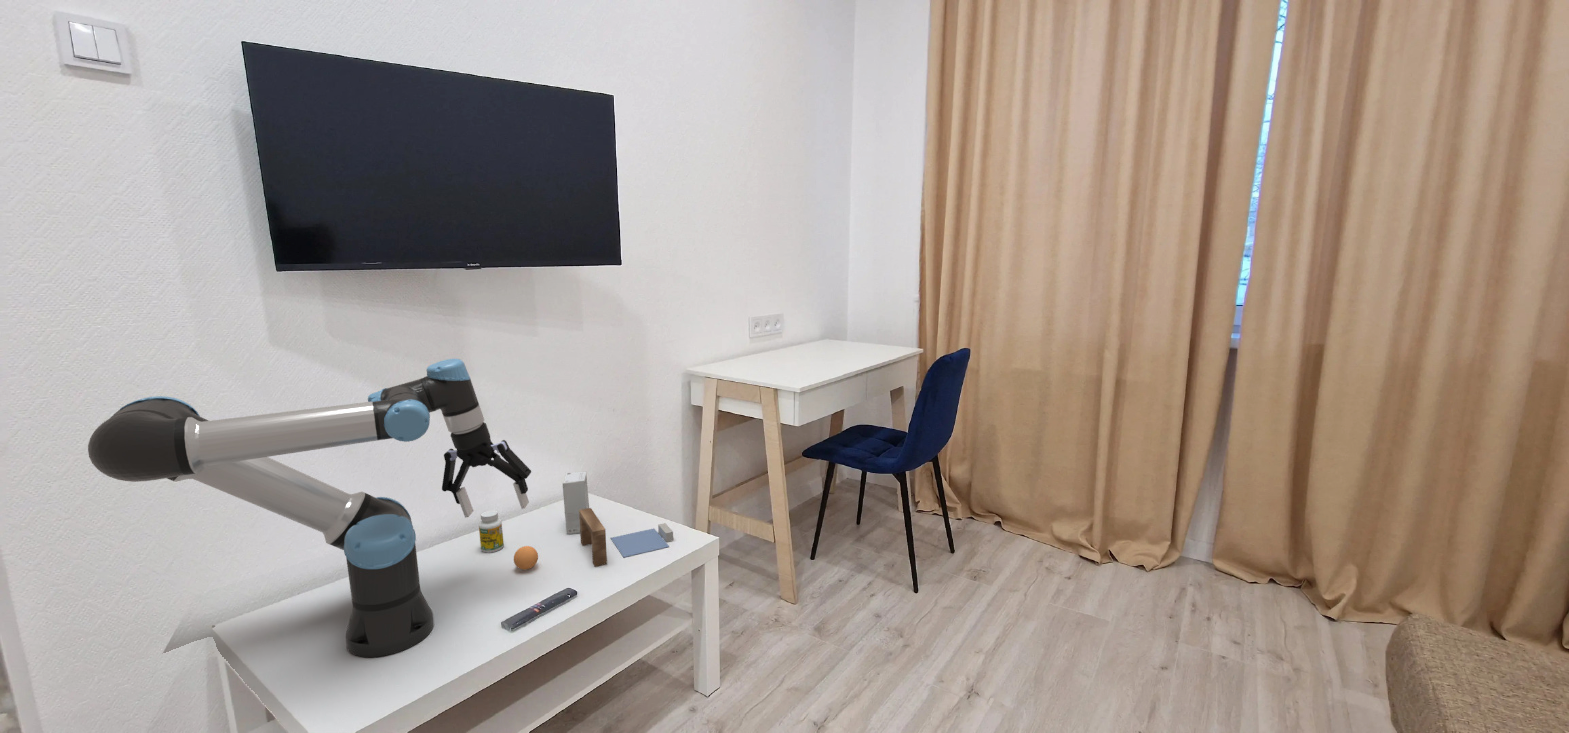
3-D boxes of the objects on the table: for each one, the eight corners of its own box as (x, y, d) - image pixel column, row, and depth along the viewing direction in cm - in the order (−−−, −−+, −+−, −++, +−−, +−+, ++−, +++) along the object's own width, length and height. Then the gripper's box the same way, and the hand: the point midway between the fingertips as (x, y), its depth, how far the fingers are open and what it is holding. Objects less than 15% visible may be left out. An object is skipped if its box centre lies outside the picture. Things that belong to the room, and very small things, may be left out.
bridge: (594, 567, 160) (592, 531, 158) (580, 542, 172) (579, 510, 170) (607, 564, 161) (605, 529, 159) (592, 540, 174) (590, 507, 172)
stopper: (666, 542, 173) (665, 533, 172) (658, 533, 178) (658, 524, 178) (673, 540, 174) (673, 531, 173) (665, 531, 179) (665, 523, 179)
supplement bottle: (506, 543, 172) (503, 508, 170) (500, 552, 166) (497, 517, 164) (484, 544, 171) (481, 509, 169) (478, 553, 166) (474, 518, 164)
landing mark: (623, 557, 164) (623, 557, 164) (610, 538, 175) (610, 537, 175) (669, 547, 170) (669, 546, 170) (654, 529, 181) (654, 528, 180)
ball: (516, 576, 155) (514, 554, 154) (512, 566, 160) (511, 545, 159) (540, 570, 158) (539, 549, 157) (536, 560, 162) (535, 540, 161)
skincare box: (588, 533, 178) (585, 481, 175) (565, 535, 176) (562, 482, 173) (590, 520, 186) (587, 470, 183) (567, 521, 184) (565, 471, 181)
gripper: (527, 411, 149) (554, 493, 155) (423, 429, 150) (454, 509, 157) (514, 425, 141) (543, 510, 148) (405, 443, 143) (438, 526, 150)
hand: (497, 510), depth 152 cm, fingers open, 13 cm apart
